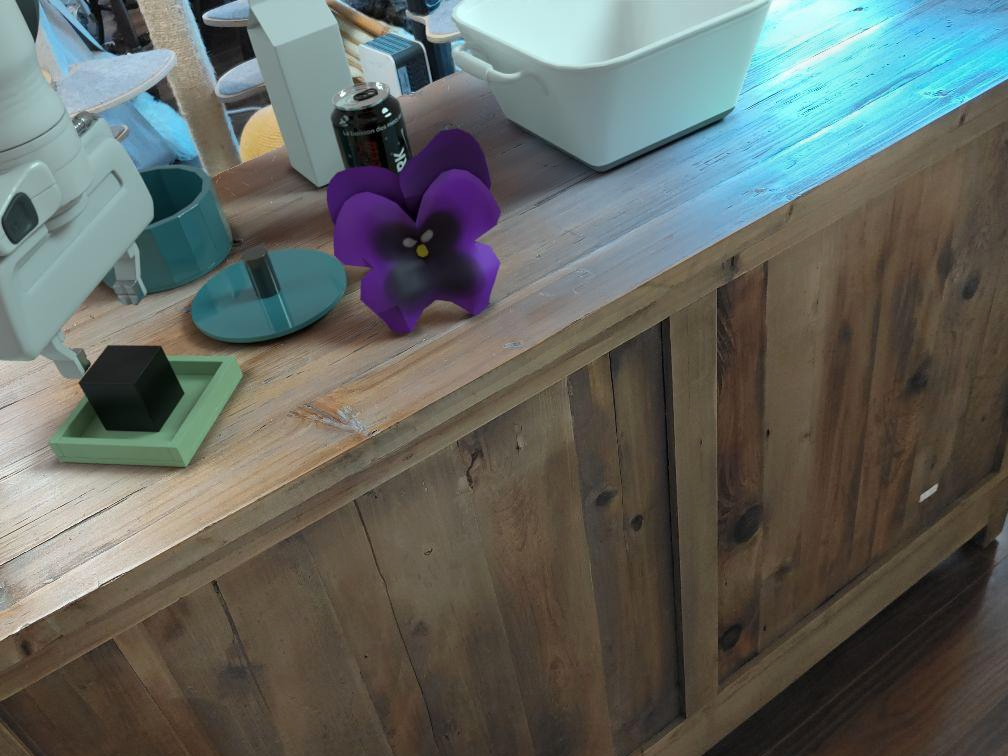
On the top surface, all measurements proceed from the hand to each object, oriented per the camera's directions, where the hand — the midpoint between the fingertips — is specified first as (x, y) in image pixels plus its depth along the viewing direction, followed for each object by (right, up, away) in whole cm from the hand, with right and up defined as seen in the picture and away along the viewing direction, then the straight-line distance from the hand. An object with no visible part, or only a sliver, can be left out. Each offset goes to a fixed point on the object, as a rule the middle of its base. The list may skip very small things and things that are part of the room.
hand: (107, 335), depth 79 cm
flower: (+24, +7, +14) cm, 28 cm away
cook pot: (-4, +13, +25) cm, 28 cm away
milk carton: (+11, +26, +34) cm, 44 cm away
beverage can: (+19, +18, +25) cm, 36 cm away
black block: (+1, -5, +5) cm, 8 cm away
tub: (+42, +30, +32) cm, 61 cm away
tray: (+1, -6, +6) cm, 8 cm away
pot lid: (+9, +7, +15) cm, 19 cm away
